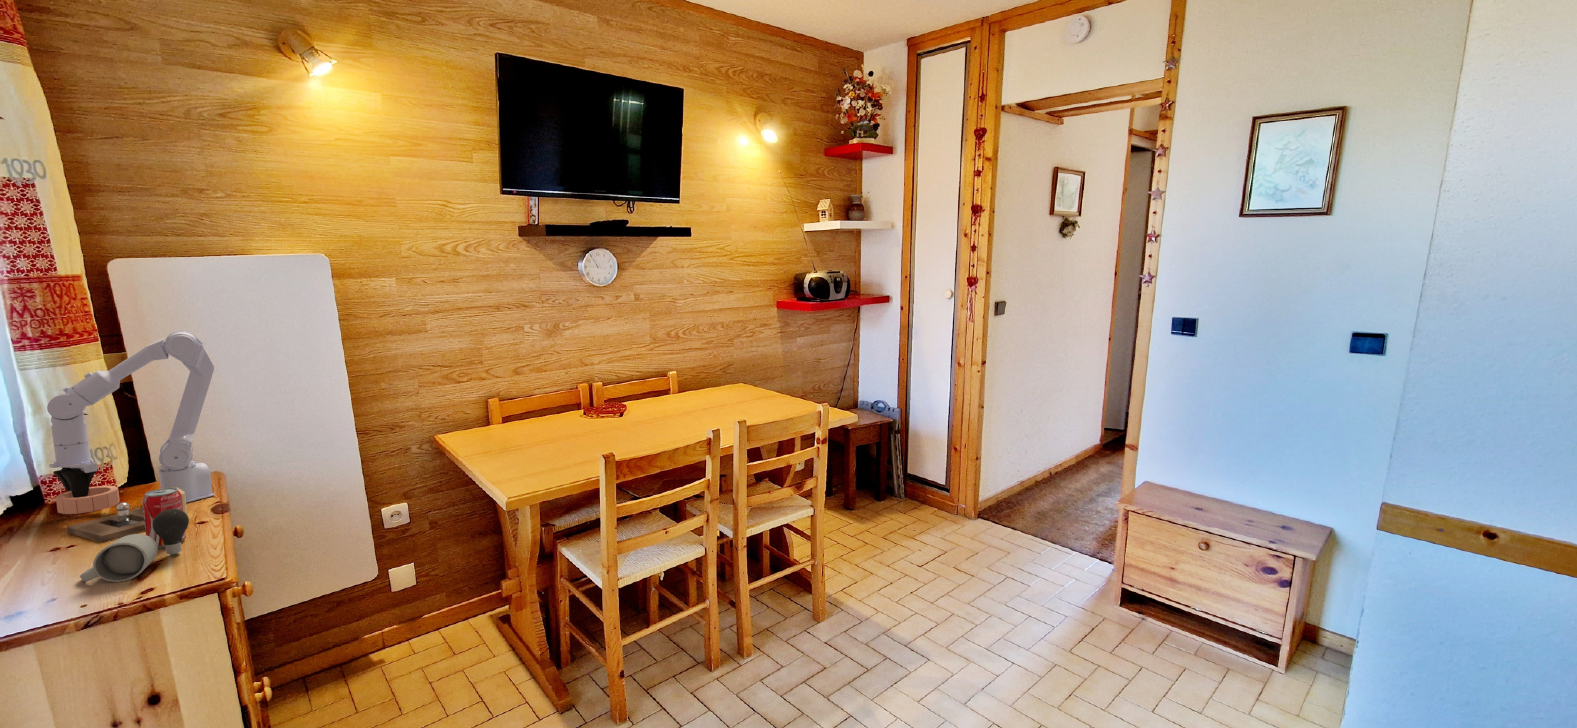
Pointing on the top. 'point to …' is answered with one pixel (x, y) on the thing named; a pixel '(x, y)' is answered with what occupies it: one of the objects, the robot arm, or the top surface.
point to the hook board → (108, 527)
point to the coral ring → (88, 500)
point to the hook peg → (122, 516)
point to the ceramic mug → (123, 559)
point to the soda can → (160, 509)
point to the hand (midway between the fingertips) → (78, 497)
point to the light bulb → (171, 529)
